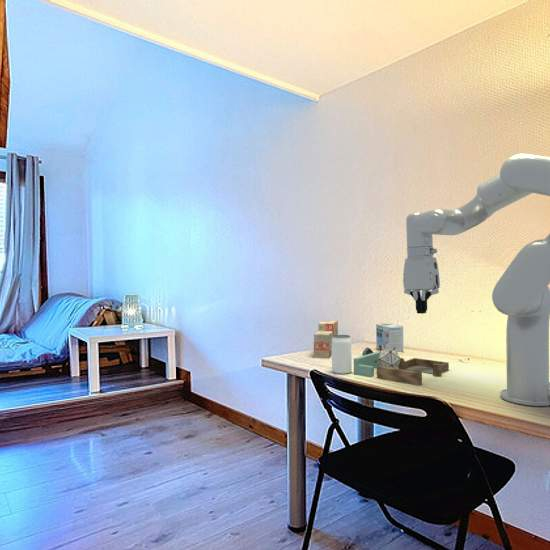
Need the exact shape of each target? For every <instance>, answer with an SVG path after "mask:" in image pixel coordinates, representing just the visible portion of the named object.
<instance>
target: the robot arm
mask: <svg viewBox="0 0 550 550" xmlns="http://www.w3.org/2000/svg"><path fill="white" fill-rule="evenodd" d="M499 171H500V172H499V173H498V174H496V175H494V176H493V177H491V178H489V179H487V180H485V181H483V182H482V183H480V184H479V185H478V186H477V188H476V194H475V196H474V197H473V198H472V199H471V200H469V201H468V202H467V203H465V204H464V205H462V206H459V207H458V208H456V209H454V210H452V209H443V208H434V209H431V210H427V211H424V212H423V211H422V212H413V213H410V214H408V215H407V216H406V221H405V223H406V250H407V251H406V253H407V254H406V257H407V258H405V260H404V264H403V275H402V276H403V278H402V279H403V280H402V282H403V283H402V285H403V289H404V290H403V293H404V294H406V295H409V296H411V297H412V298H413V300H414V301H415V311H416V314H422V315H423V314H427V312H428V300H429V299H430V298H431V297H432V296H434V295H437V294H439V293H440V291H439V289H440V287H441V280H440V278H441V277H440V271H439V265H438V261H437V260H438V259H437V257H435V255H434V254H438V249H437V248H434V247H433V246H434V243H433V242H434V241H433V235H435V236H436V235H437V236H438V235H439V236H457V235H461V234H462V233H464V232H467V231H469V230H471V229H473V228H475V227H477V226H479V225H481V224H482V223H484V222H485V221H486V220H487V219H489V218H491V216H492V215H494V214H495V213H496V212H497V211H500V210H502V209H504V208H505V207H506V208H507V207H508V206H509V205H511V204H513V203H515V202H517V201H519V200H521V199H523V198H526V197H527V196H530V195H531V194H537V195H541V196H542V195H543V196H548V197H550V157H549V156H543V155H538V154H532V153H525V152H523V153H516V154H514V155H511V156H510V157H508V158H507V159H506V160H505V161H504V162H503V163H502V165H501V168H500V170H499ZM549 285H550V233H549V234H548V235H547V236H546V237H545V238H541V239H536V240H533V241H531V242H529V243H527V244H526V245H524V246H523V247H522V248H521V249H520V250H519V252H518V253H517V254H516V255H515V257H514V258H513V260H512V261H511V262H510V264H509V265H508V267H507V268H506V269H505V270H504V272H503V274H501V276H500V278H499V279H498V281H497V282H496V284H495V285H494V288H492V289H493V290H492V294H491V298H492V303H493V306H494V307H495V309H496V310H497V311H498V312H500V313H501V314H503V315H505V316H507V321H506V329H505V330H506V331H505V332H506V337H505V339H506V341H505V342H506V346H505V347H506V348H505V349H506V356H505V357H506V388H505V389H502V390H501V391H500V394H499V396H500V397H501V398H502V400H505V401H507V402H509V403H513V404H517V405H522V406H532V407H547V406H548V407H550V406H549V405H550V341H549V340H550V288H549Z"/></svg>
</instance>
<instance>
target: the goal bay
mask: <svg viewBox="0 0 550 550" xmlns="http://www.w3.org/2000/svg"><path fill="white" fill-rule="evenodd" d="M379 353H380V351H374V353H371V354H368V355H364V356H363V355H360V356H358V357H354V358H353V374H354V375H358V374H359V375H358V376H363V375H364V376H365V377H371V378H372V376H373V377H374V376H375V369H374V368H376V369H377V367H378V366H379V365H378V363H377V362H376V363H375V361H377V359H378V356H379Z"/></svg>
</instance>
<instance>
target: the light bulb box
mask: <svg viewBox="0 0 550 550" xmlns="http://www.w3.org/2000/svg"><path fill="white" fill-rule="evenodd" d="M375 330H376V345H375V346H376V350H378V349H379V348H381V350H389V349H394V348H395V351H396V353H397V352H403V353H404V325H399V324H394V323H388V322H387V323H376V327H375ZM381 350H380V349H379V350H378V351H381ZM397 354H398V353H397Z"/></svg>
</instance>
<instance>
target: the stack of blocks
mask: <svg viewBox="0 0 550 550" xmlns="http://www.w3.org/2000/svg"><path fill="white" fill-rule="evenodd" d="M338 322H339V321H338V320H333V319H332V320H326V319H325V320H321V321H320V322H319V323H318V324H317V327H318V329H317V330H318V331H316V332H315V333H313V358H316V357H317V358H318V359H319V358H320V359H321V358H322V359H330V358H331V357H332V339H333V336H334V335H339V323H338ZM330 356H331V357H330ZM317 358H316V359H317Z"/></svg>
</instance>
